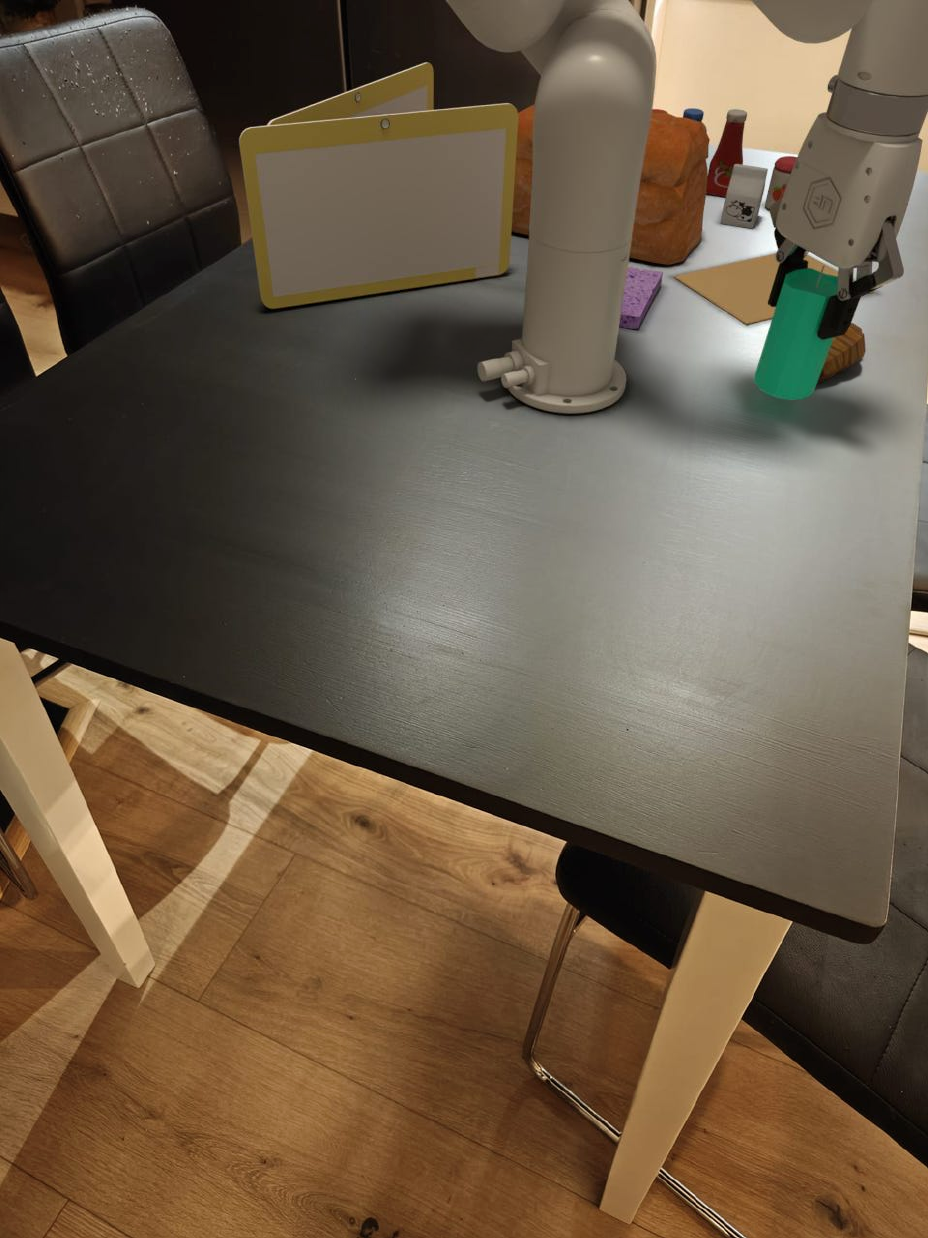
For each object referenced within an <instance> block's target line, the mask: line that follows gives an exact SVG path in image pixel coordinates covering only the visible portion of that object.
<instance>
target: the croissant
mask: <svg viewBox="0 0 928 1238" xmlns="http://www.w3.org/2000/svg"><path fill="white" fill-rule="evenodd" d="M866 352H867V351H866V338H865V333H863V328H861V327H860V326H858V325H857V324H855V323H854V322H851V324H850V327H849V328H848V330H847V332H846V333H845V334H844V335H841V336H837V337H834V338H833V341H832V344H831V346H830V349H829V352H828V354H827V357H826V360H825V363H824V365H823V368H822V371H821V373H820V376H819V379H818V381H817V384H819V383H822V382H824V381H827V380H829V379H832V378H833V377H834V376H835V375H837V374H840V373H842V372H843V371H845V370H846V369H848V368H850V367H851V366H853V365H854V364H855V363H856V362H858V361H860V360H861V359H863V358H864V357H865V355H866Z"/></svg>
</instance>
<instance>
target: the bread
mask: <svg viewBox="0 0 928 1238" xmlns="http://www.w3.org/2000/svg"><path fill="white" fill-rule="evenodd" d="M534 106H535V102H534V103H533V104H532V105H531V106H528V107H526V108H525V109H523V110H520V111H519V112H518V132H517V148H516V164H515V181H514V197H513V213H512V230H511V232H513V233H517V234H521V235H525V236H529V233H530V232H529V223H530V207H531V191H532V167H533V116H534ZM702 123H703V121H702V122H698V121H695V120H692V119H689V118H683V116H682V117H681V116H676V115H673V114H670V113H668V112H667V113H652V115H651V122H650V128H649V133H648V139H647V144H646V149H645V154H644V161H643V167H642V173H641V179H640V186H639V193H638V199H637V206H636V213H635V220H634V226H633V233H632V242H631V249H630V256H629V259H635V260H640V261H644V262H649V263H655V264H662V265H666V266H670V265H674V264H677V263H681V262H684V260H686V258H687V257H688V256H689V254H690V253H691V252H692V251H693V249H694V248H696V246H697V245H698V244H699V243H700V242H701V240H702V234H703V222H704V212H705V211H704V210H705V204H706V197H707V193H706V188H707V178H708V171H709V169H708V163H707V159H708V158H709V147H710V146H709V144H710V142H711V141H710V137H709V135H708V132H707V133H706V131H705V128H704V126H703V124H702Z"/></svg>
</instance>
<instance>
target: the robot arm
mask: <svg viewBox="0 0 928 1238" xmlns="http://www.w3.org/2000/svg"><path fill="white" fill-rule="evenodd" d="M750 1H751V2H752V3H753V4H754V5H755V7H756V8H757V9H758V10H759V11H760V12H761V13H762V14H763V15H764V16H765V17H766V18H767V20H768V21H769V22H770V23H772V25H773V26H774V27H775V28H776V29H777V30H778V31H779V32H780V33H782V34H783V35H784V36H786V37H787V38H790V39H792V40H794V41H795V42H800V43H803V44H816V45H817V44H822V43H827V42H830V41H833V40H835V39H837V38H840V37H841V36H842V35H845V34H846V33H848V32H849V31H850V33H849V35H848V39H847V42H846V46H845V49H844V52H843V55H842V59H841V62H840V65H839V68H838V72H837V74H834V75H833V76H832V77H831V78H830V79H829V80H828V83H827V88H826V89H827V92H828V93H830V94H831V96H830V99H829V102H828V104H827V109H826V111H825V112H821V113H818V115H817V116H816V118H815V120H814V122H813V123H812V125H811V127H810V129H809V130H808V132H807V135H806V137H805V138H804V140H803V143H802V145H801V147H800V150H799V151H798V155H797V156H796V157H797V159H796V162H795V164H794V167H793V169H792V172H791V175H790V177H789V180H788V183H787V186H786V189H785V192H784V194H783V197H782V198H781V199H779V200H778V201H777V202H775V203H774V204H772V205H771V207H770V210H769V215H770V218H771V222H772V225H773V228H774V232H773V236H774V239H775V240H774V241H775V243H776V248H777V251H776V252H775V253H776V260H777V262H778V263H780V264H779V267H778V270H777V274H776V277H775V280H774V283H773V287H772V290H771V293H770V297H769V300H768V305H770V306H771V307H776V305H777V302H778V299H779V296H780V292H781V289H782V286H783V283H784V280H785V276H786V274H788V273H790V272H792V271H794V270H798V269H806V268H808V261H806V260H803V259H804V258H805V257H806V255H809V253H810V254H812V255H814V256H815V257H817V258H818V259H821V260H823V261H825V262H826V263H827V264H830V265H832V266H834V267H835V268H838V270H837V271H838V289H837V295H834V296H831V297H830V298H829V301H828V303H827V306H826V309H825V312H824V315H823V318H822V320H821V323H820V326H819V329H818V332H817V336H818V337H819V338H820V339H822V340H824V339H828V338H833V337H837V336H841V335H844V334H845V333H846V332H847V330H848V328H849V327H850V324H851V323H853V319H854V316H855V314H856V311H857V309H858V307H859V303H860V301H861V298H862V297H866V296H868V295H870V294H871V293H870V292H872V291H874V292H875V291H876V290H878V289H880V288H882V287H884V286H885V285H888V284H889V283H892V282H894V281H896V280H899V279H900V278H902V277H903V276H904V273H905V269H904V265H903V261H902V256H901V253H900V249H899V245H898V241H897V237H898V235H899V233H900V229H901V227H902V224H903V221H904V218H905V215H906V212H907V208H908V205H909V202H910V199H911V196H912V192H913V189H914V185H915V181H916V177H917V173H918V168H919V164H920V163H919V162H920V159H921V154H922V148H923V142H924V141H923V139H921V138H920V137H919V136H920V134H921V131H922V128H923V126H924V123H925V121H926V118H927V116H928V0H750ZM445 2H446V3H447V4H448V5H449V7H450V8H451V9H452V11H453V12H454V14H455V15H456V16H457V17H458V20H460V21H461V23H462V24H463V25H464V26H465V28H466V29H467V30H468V31H469V33H470V34H471V35H472V36H473V37H474V38H475V39H476V40H477V41H478V42H480V43H481V44H482V45H484V46H485V47H486V48H489V49H491V50H494V51H496V52H501V53H516V52H521V53H522V55H523V56H524V57H525V58H526V59H527V61H528V62H529V63H530V64H531V66H532V67H533V68H534V69H535V71H536V72H537V73H538V74H539V75H540V79H539V81H538V85H537V89H536V94H535V99H534V103H535V106H534V116H533V167H532V191H531V207H530V223H529V232H530V233H529V235H528V248H527V249H528V250H527V263H526V277H525V290H524V291H525V293H524V305H523V318H522V333H521V334H522V335H521V338H519V339H513V340H512V345H511V351H508V352H506V353H505V354H504V356H503V357H499V358H491V359H488V360H483V361H479V362H478V364H477V374H478V377H479V379H480V381H482V382H487V381H492V380H496V379H500V381H501V385H502V386H503V388H505V389H507V390H508V391H509V393H510V394H511V395H512V396H514V397H515V398H516V399H517V400H519V401H520V402H522V403H524V404H525V405H527V406H530V407H533V408H534V409H538V410H542V411H546V412H549V413H550V412H551V413H557V414H567V415H568V414H570V415H571V414H585V413H591V412H595V411H599V410H603V409H605V408H607V407H610V406H612V405H613V404H614V403H616V402H617V401H619V400H620V399H621V397H622V396H623V395H624V393H625V390H626V385H627V374H626V373H627V372H625V370H624V368H623V366H622V365H621V364H620V362H619V361H617V360H616V359H615V356H616V350H617V343H618V337H619V330H620V326H619V324H620V317H621V310H622V303H623V296H624V290H625V283H626V276H627V269H628V268H629V263H630V257H629V256H630V249H631V242H632V233H633V226H634V220H635V213H636V206H637V199H638V193H639V186H640V179H641V173H642V167H643V161H644V154H645V149H646V144H647V139H648V133H649V128H650V122H651V115H652V109H654V108H653V107H654V98H655V92H656V91H655V90H656V78H657V52H656V46H655V43H654V40H653V37H652V35H651V32H650V30H649V29H648V26H647V25H646V23H645V21H644V20H643V19H642V17H641V16H640V14H639V13H638V11H637V10H636V8H635V7H634V6H633V4H632V3H631V1H630V0H445ZM873 263H878V268H877V269H876V270H875V271H873ZM855 269H856V275H855V276H856V277H855V279H856V280H855V281H854V282H853V280H854V273H855ZM869 293H870V294H869Z"/></svg>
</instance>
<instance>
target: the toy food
mask: <svg viewBox="0 0 928 1238" xmlns="http://www.w3.org/2000/svg"><path fill="white" fill-rule="evenodd" d="M747 112H748V111H745V110H744V109H738V108H734V109H733V108H731V109H729V110H728V111H727V114H726V116H725V117H726V120H725V124H724V127H723V131H722V134H721V137H720V141H719V142H718V145H717V148H716V149H715V153H714V154H713V156H712V158H711V160H710V162H709V164H708V165H709V166H708V178H707V188H706V195H711V196H718V197H724V202H723V208H722V213H721V218H720V224H722V225H727V226H734V227H739V228H747V229H753V228H754V226H755V224H756V222H757V219H758V217H759V212H760V209H761V206H762V205H761V204H762V200H763V196H764V191H765V187H766V180H767V175H768V170H769V169H768V168H766V167H761V166H755V165H747V164H744V154H743V153H744V152H743V151H744V150H743V141H744V133H745V132H744V131H745V125H746V124H745V123H746V121H747V118H748V113H747ZM652 113H668V111H667V110H664V109H660V108H659V109H658V108H652ZM704 114H705V112H704V110H702V109H699V108H693V107H692V108H691V107H690V108H686V109H684V110H683V114H682V118H689V119H692V120H695V121H698V122H702V124H703V126H704V128H705V131H706V133H707V134H708V130H707V126H706V125H705V123H704V122H703V119H704ZM797 157H798V156H793V155H785V156H781V157H779V158H777V159H776V160H775V162H774V167H773V168H772V173H771V176H770V180H769V185H768V189H767V193H766V198H765V202H764V205H765V208H766V209H768V210H769V211H770V207H771V205H772V204H774V203H775V202H777V201H778V200H779V199H781V198H782V197H783V194H784V192H785V189H786V186H787V183H788V180H789V177H790V175H791V172H792V169H793V167H794V164H795V162H796V159H797Z"/></svg>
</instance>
